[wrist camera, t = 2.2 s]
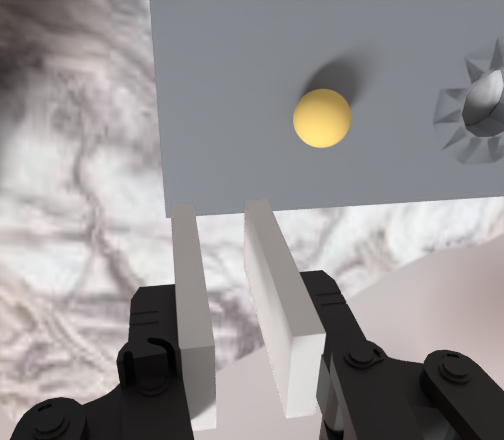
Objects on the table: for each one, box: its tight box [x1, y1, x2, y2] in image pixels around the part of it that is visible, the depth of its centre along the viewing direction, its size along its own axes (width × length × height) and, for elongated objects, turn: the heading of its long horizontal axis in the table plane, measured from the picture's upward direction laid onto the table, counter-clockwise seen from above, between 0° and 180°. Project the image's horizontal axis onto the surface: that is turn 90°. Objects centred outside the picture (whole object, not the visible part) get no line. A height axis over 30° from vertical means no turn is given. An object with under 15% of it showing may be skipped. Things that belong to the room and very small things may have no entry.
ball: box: [293, 89, 351, 148], centre depth 28 cm, size 3×3×3 cm
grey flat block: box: [150, 0, 504, 218], centre depth 31 cm, size 28×14×2 cm, turn 89°
